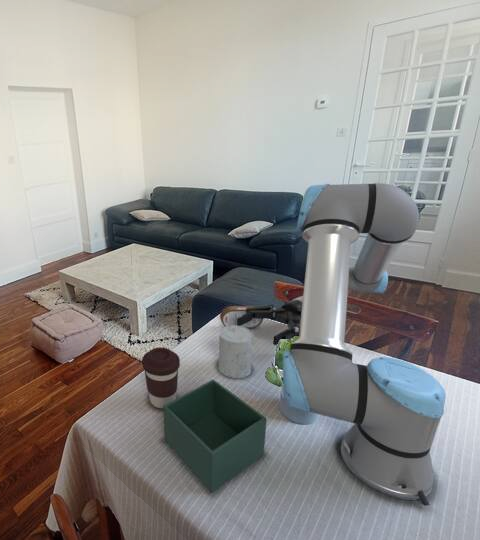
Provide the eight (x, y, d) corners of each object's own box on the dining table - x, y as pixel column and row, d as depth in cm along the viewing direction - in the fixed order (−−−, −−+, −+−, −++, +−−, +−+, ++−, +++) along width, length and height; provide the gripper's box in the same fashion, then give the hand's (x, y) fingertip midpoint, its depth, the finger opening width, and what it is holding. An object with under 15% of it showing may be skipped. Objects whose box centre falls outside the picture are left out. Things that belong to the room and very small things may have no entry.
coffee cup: (139, 394, 96) (135, 349, 91) (169, 383, 99) (168, 340, 94) (154, 417, 88) (151, 370, 82) (187, 405, 91) (186, 359, 85)
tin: (261, 324, 125) (262, 304, 122) (263, 329, 122) (265, 308, 119) (219, 325, 127) (219, 305, 124) (221, 330, 124) (221, 309, 121)
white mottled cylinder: (254, 363, 105) (256, 329, 100) (247, 381, 97) (249, 345, 93) (223, 355, 110) (224, 322, 105) (214, 372, 102) (214, 338, 98)
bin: (263, 455, 75) (266, 418, 71) (211, 493, 68) (212, 454, 64) (212, 412, 88) (213, 379, 84) (164, 440, 81) (163, 405, 77)
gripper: (334, 335, 105) (291, 360, 96) (265, 306, 125) (224, 325, 116) (337, 314, 102) (293, 338, 93) (267, 288, 123) (225, 306, 113)
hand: (255, 331), depth 104 cm, fingers open, 13 cm apart
